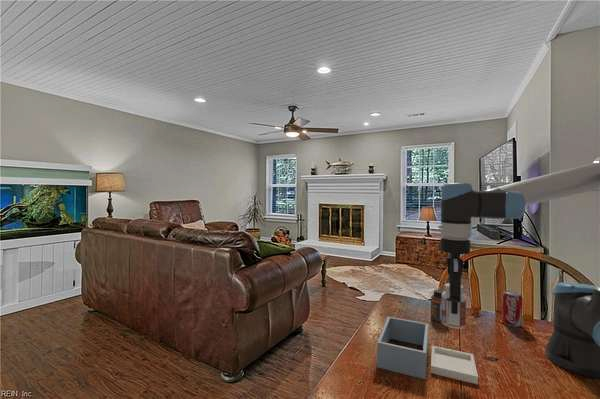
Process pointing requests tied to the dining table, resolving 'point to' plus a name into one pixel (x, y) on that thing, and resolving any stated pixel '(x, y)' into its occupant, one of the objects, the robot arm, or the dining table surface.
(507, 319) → the soda can
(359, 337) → the dining table surface
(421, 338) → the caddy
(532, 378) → the dining table surface
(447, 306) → the pill bottle
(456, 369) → the tray
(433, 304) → the supplement bottle
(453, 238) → the robot arm
